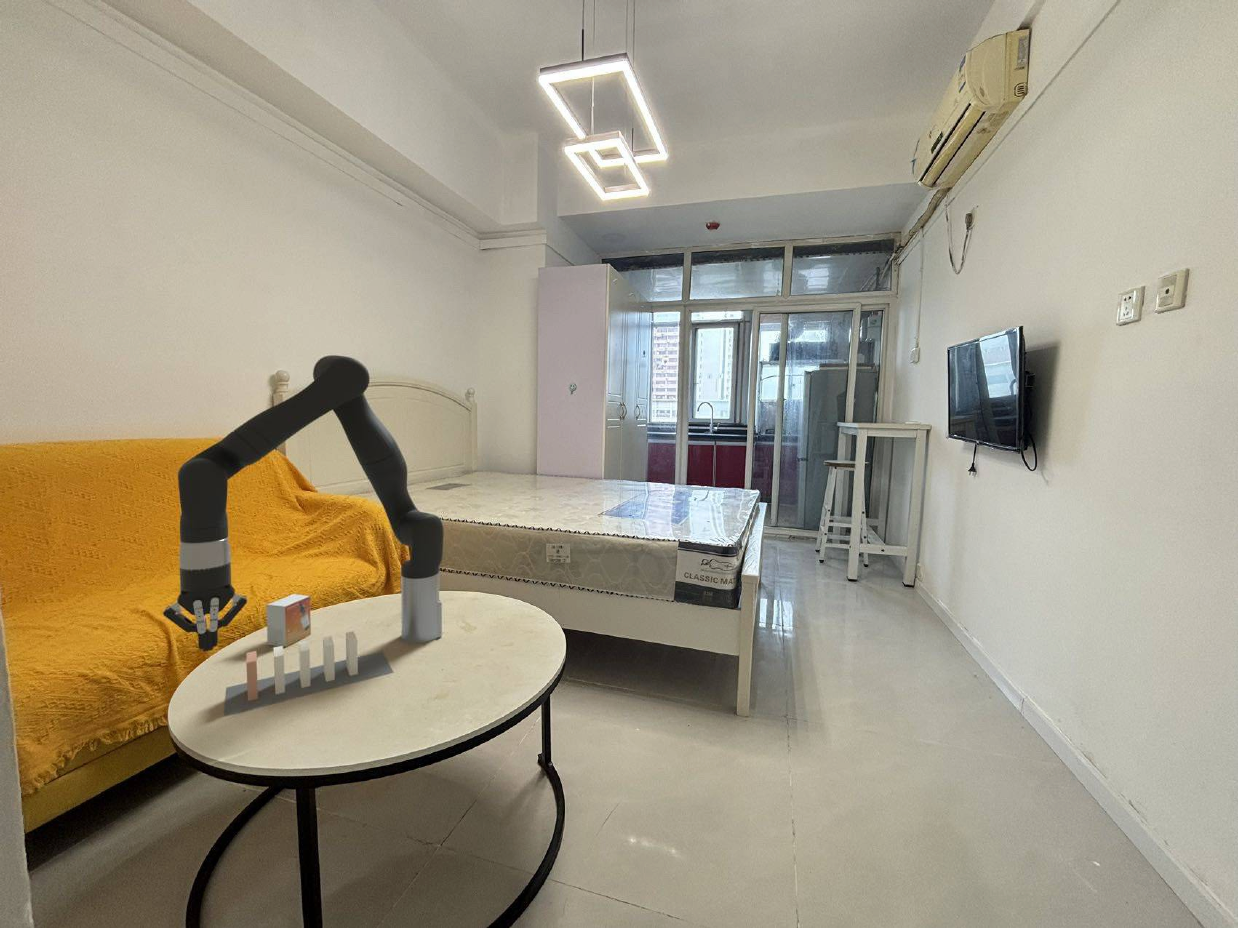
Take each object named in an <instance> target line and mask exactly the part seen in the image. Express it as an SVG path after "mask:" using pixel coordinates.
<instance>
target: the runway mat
mask: <svg viewBox="0 0 1238 928" xmlns="http://www.w3.org/2000/svg"><path fill="white" fill-rule="evenodd" d="M334 669H335V680H332V681H328V682H326V679H325V675H324V665H323V664H322V665H317V666H314V667H310V686H308V687H304V688H301V682H300V670H296V671H292V672H288V673H284V678H285V692H284V693H280V694H275V675H274V676H270V677H267V678H262V679H257V681H258V699H255V700H251V701H248V690H247V682H245V683H241V684H236V685H232V686H228V687H227V686H226V687H225V688H226V689H225V698H224V707H223V709H224V710H223V717H228V716H231V715H235V714H239V713H243V712H246V711H250V710H255V709H258V708H262V707H266V706H270V705H274V704H278V703H282V702H285V701H289V700H293V699H297V698H300V697H305V696H309V695H313V694H316V693H320V692H324V691H328V690H331V689H335V688H339V687H343V686H347V685H350V684H354V683H355V684H356V683H358V682H362V681H367V680H370V679H374V678H378V677H382V676H385V675H389V674H393V673H395V672H394V670H393V668H392V666H391V664H390V662H389V660H388V659H387V657H386V655H385V652H384V651H383V650H381V651H378V652H373V653H369V654H365V655H361V656H360V655H359V656H358V674H355V675H351V676H350V675H349V672H348V669H347V667H346V659H344V660H340V661H334Z"/></svg>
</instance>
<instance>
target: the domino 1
mask: <svg viewBox="0 0 1238 928" xmlns="http://www.w3.org/2000/svg"><path fill="white" fill-rule="evenodd" d="M257 655H258V654H257V650H254V651H249V652H246V666H245V667H246V683H247V690H248V701H251V700H255V699H258V681H257V680H258V664H257V663H258V661H257V660H258V658H257Z"/></svg>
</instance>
